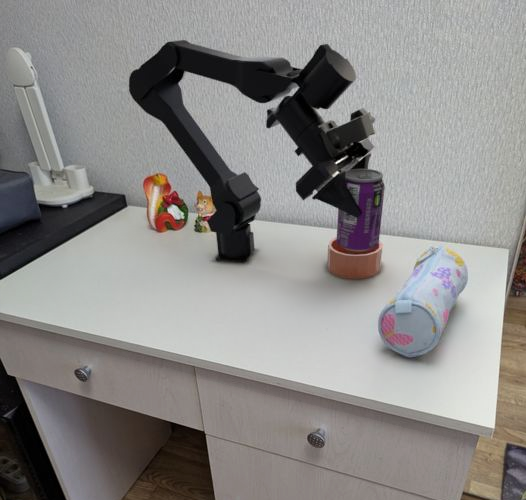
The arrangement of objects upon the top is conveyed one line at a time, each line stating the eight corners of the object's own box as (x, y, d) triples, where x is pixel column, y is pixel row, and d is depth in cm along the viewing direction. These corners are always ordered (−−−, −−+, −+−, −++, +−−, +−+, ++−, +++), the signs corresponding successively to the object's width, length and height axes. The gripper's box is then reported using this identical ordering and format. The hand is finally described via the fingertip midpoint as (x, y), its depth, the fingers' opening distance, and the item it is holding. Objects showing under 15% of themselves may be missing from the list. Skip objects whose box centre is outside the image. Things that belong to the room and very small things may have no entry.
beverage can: (384, 252, 82) (393, 178, 75) (343, 256, 81) (348, 182, 74) (370, 235, 88) (376, 166, 80) (331, 239, 87) (334, 169, 80)
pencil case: (411, 289, 85) (419, 237, 80) (464, 300, 81) (476, 246, 76) (371, 353, 70) (377, 295, 65) (433, 369, 67) (445, 309, 61)
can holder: (323, 276, 91) (324, 253, 88) (332, 254, 98) (333, 232, 96) (377, 281, 88) (380, 257, 86) (382, 258, 96) (384, 236, 93)
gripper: (316, 103, 66) (386, 196, 68) (367, 83, 79) (425, 162, 80) (267, 157, 74) (331, 240, 76) (321, 131, 87) (374, 202, 88)
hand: (368, 209), depth 80 cm, fingers closed on beverage can, 7 cm apart
